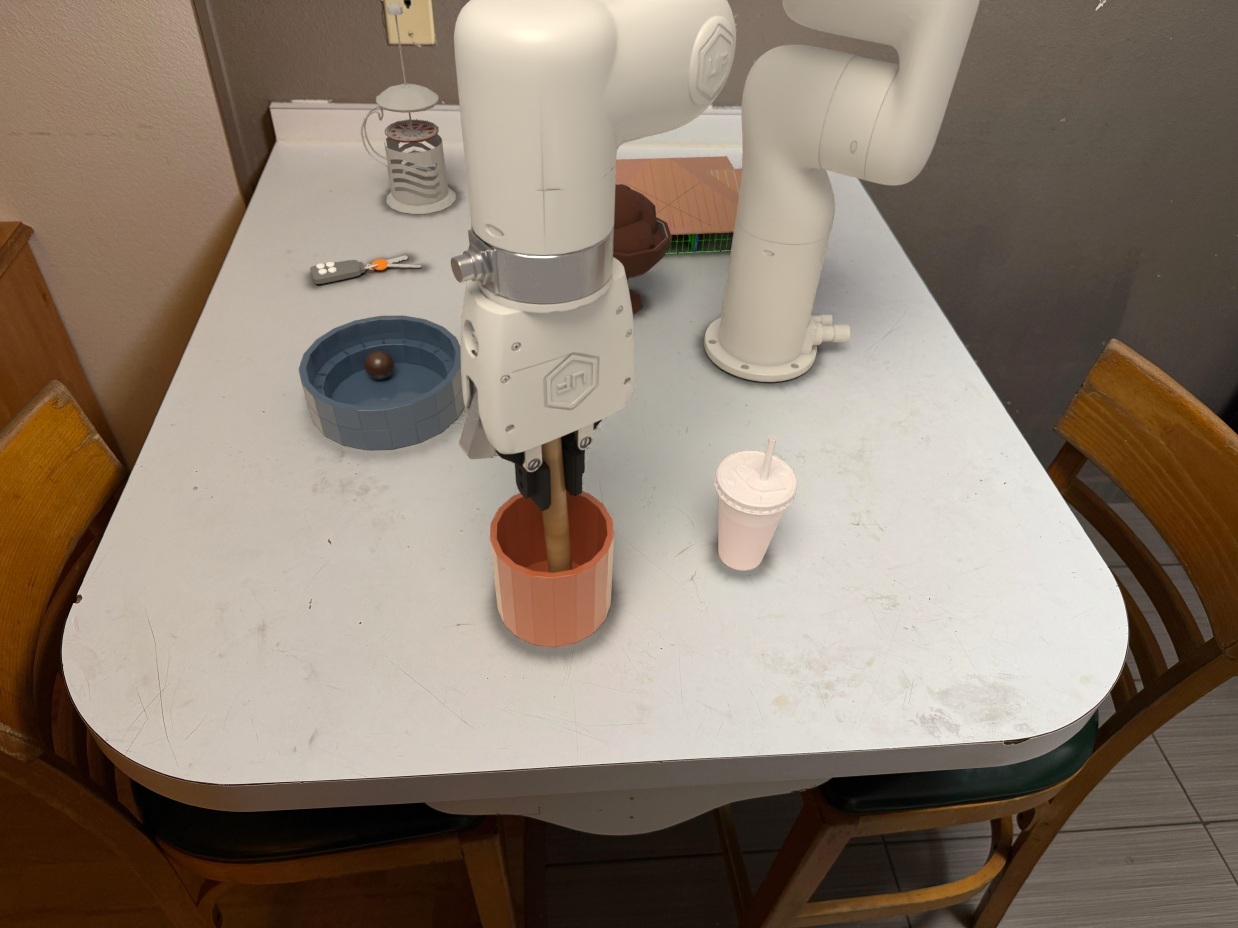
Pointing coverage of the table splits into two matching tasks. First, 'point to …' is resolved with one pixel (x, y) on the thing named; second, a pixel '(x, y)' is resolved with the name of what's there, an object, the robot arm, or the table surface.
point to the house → (687, 193)
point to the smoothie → (751, 504)
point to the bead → (379, 365)
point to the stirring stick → (556, 511)
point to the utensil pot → (552, 600)
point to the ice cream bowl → (637, 236)
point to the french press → (416, 185)
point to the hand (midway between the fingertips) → (550, 489)
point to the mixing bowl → (383, 382)
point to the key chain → (351, 269)
